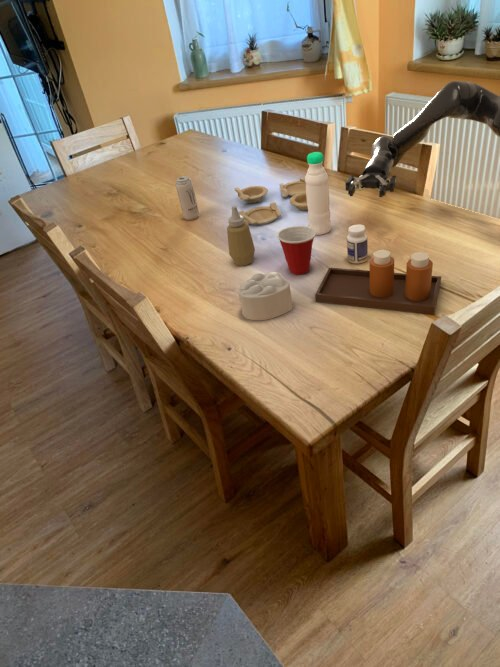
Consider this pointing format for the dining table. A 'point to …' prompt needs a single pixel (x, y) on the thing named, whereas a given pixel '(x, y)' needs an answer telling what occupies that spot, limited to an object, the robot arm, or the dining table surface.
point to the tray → (356, 292)
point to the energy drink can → (187, 198)
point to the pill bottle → (357, 244)
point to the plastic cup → (297, 247)
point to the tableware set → (271, 212)
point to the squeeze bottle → (240, 239)
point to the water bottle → (317, 194)
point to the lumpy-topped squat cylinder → (265, 296)
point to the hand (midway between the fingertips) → (365, 193)
